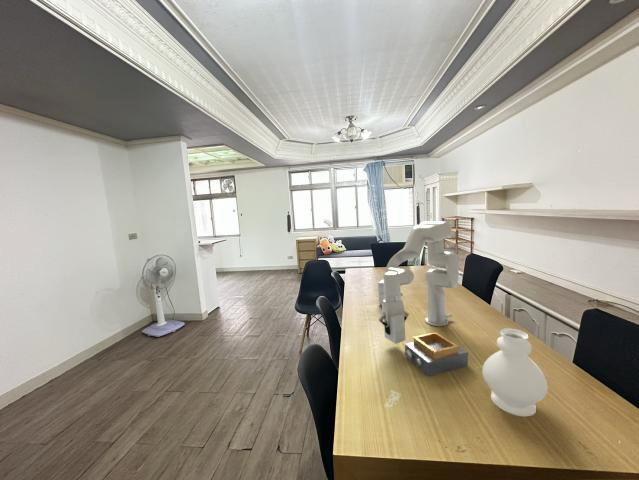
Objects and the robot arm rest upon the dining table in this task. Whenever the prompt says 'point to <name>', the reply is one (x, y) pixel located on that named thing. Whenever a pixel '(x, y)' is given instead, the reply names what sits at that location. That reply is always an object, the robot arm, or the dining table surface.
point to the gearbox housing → (435, 354)
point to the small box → (396, 329)
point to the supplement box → (381, 292)
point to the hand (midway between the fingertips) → (394, 331)
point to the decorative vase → (514, 375)
